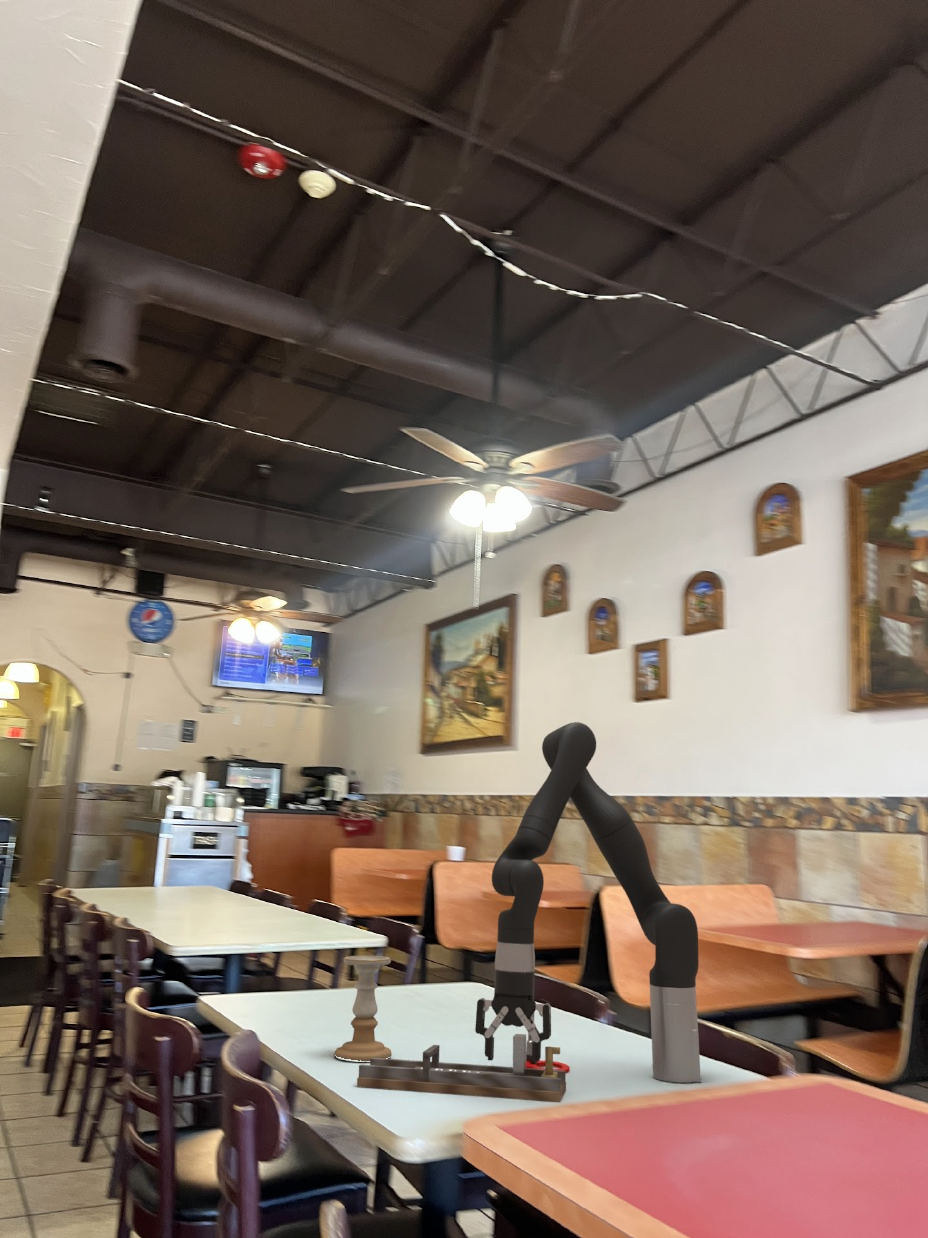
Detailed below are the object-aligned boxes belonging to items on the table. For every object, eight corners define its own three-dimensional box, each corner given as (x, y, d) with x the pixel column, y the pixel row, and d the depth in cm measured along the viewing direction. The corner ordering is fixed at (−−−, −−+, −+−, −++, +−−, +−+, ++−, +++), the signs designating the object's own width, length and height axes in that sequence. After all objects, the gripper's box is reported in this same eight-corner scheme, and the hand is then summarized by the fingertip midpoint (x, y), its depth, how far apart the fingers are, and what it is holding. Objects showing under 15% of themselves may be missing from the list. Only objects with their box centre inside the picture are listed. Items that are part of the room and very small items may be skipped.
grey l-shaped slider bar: (526, 1081, 165) (526, 1034, 167) (523, 1085, 162) (523, 1037, 164) (415, 1073, 170) (416, 1028, 172) (411, 1077, 167) (412, 1030, 169)
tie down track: (566, 1090, 166) (565, 1043, 168) (560, 1102, 157) (559, 1053, 160) (372, 1076, 174) (374, 1032, 176) (356, 1087, 166) (358, 1040, 168)
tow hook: (575, 1071, 185) (533, 1064, 189) (576, 1004, 188) (535, 998, 192) (561, 1079, 177) (518, 1071, 181) (563, 1009, 181) (521, 1003, 184)
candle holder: (402, 1056, 194) (406, 958, 199) (366, 1066, 184) (370, 961, 189) (359, 1049, 200) (364, 954, 206) (322, 1058, 191) (327, 957, 196)
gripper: (554, 968, 171) (553, 1062, 167) (482, 963, 175) (478, 1054, 170) (549, 972, 164) (547, 1069, 160) (474, 967, 168) (470, 1062, 163)
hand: (512, 1062), depth 165 cm, fingers open, 8 cm apart
